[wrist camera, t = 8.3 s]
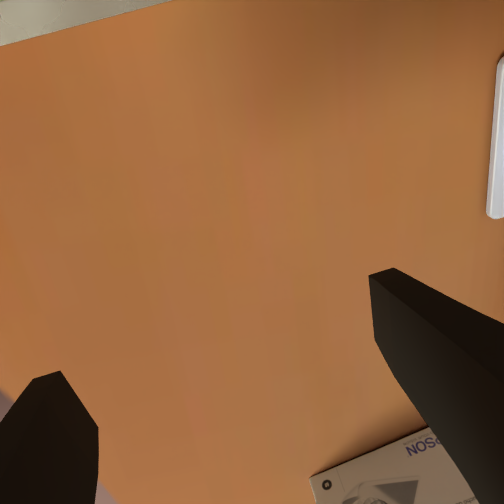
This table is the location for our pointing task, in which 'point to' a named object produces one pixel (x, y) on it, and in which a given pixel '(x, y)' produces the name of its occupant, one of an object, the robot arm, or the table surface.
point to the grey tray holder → (57, 15)
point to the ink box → (396, 476)
